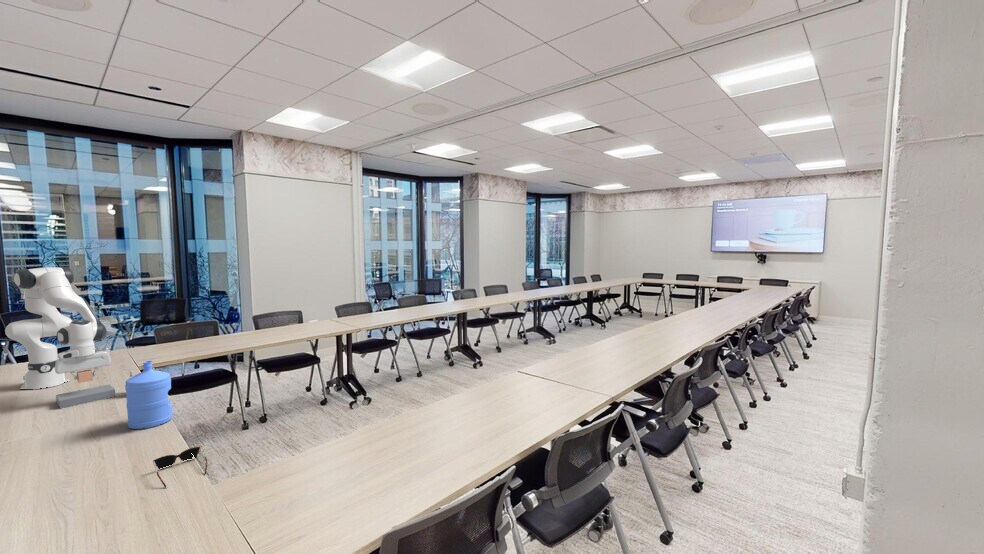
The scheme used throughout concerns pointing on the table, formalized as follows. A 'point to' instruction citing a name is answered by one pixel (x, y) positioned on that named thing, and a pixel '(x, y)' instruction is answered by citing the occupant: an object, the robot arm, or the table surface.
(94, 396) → the stand
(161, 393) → the water jug
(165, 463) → the sunglasses
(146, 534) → the table surface
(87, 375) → the cube
